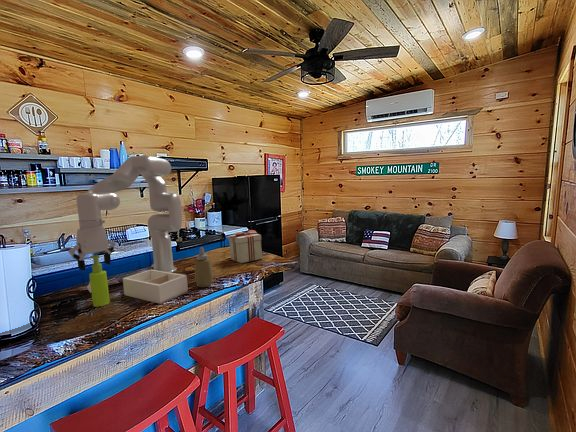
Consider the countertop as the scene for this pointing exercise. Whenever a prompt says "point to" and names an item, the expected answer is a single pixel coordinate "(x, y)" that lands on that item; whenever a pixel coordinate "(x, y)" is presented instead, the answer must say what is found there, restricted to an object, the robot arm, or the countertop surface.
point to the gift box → (245, 246)
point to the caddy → (155, 286)
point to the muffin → (89, 287)
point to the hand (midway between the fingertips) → (95, 266)
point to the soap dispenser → (99, 284)
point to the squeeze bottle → (203, 270)
